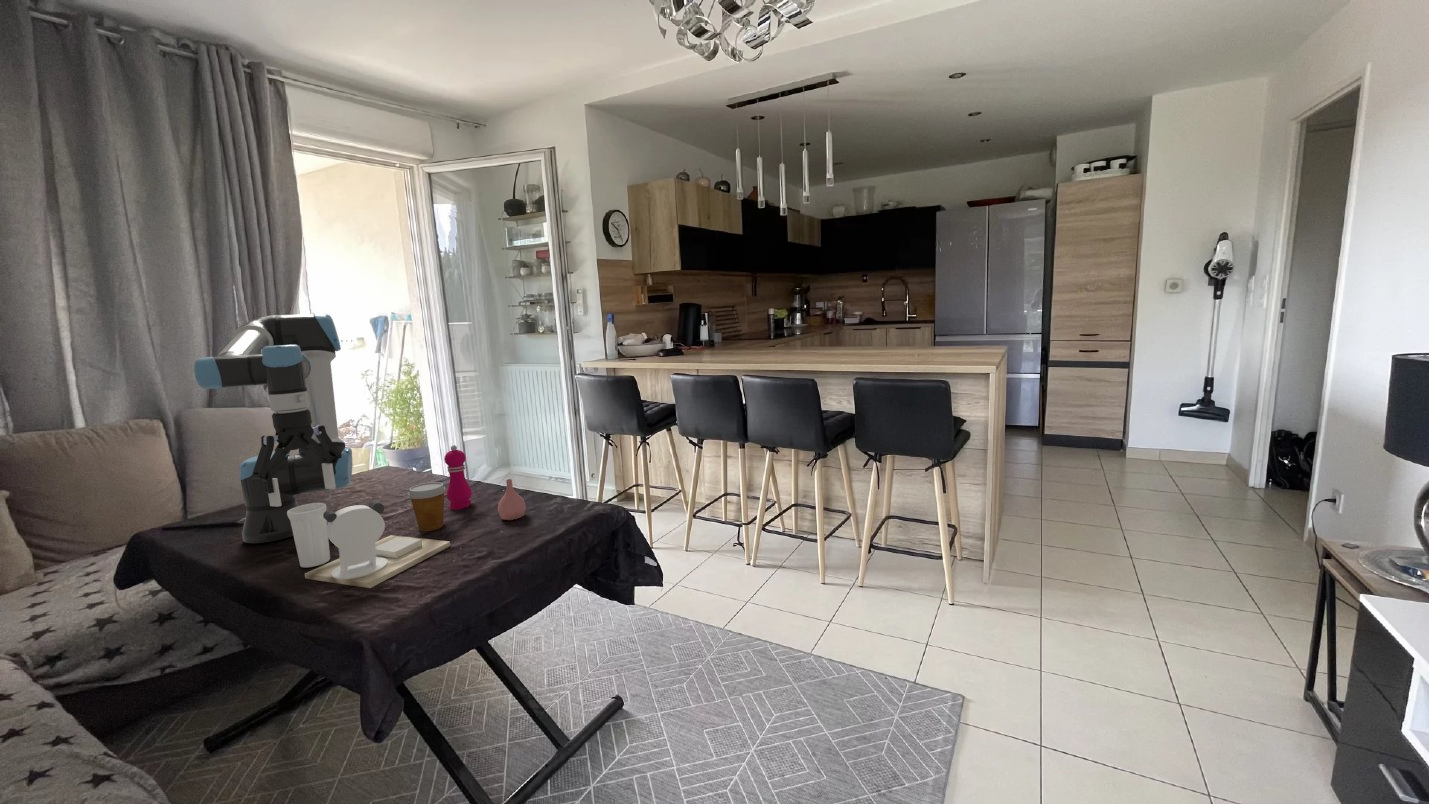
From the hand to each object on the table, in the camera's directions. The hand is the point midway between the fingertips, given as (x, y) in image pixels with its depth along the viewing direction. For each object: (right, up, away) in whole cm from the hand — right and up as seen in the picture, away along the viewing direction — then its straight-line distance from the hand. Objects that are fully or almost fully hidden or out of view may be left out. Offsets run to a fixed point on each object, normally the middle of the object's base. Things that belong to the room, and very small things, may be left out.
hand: (304, 497), depth 143 cm
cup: (+1, -17, +3) cm, 17 cm away
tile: (+16, -13, +7) cm, 22 cm away
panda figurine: (+16, -16, -4) cm, 23 cm away
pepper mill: (+20, -10, +41) cm, 47 cm away
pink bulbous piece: (+41, -11, +28) cm, 51 cm away
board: (+17, -16, +2) cm, 24 cm away
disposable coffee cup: (+19, -13, +25) cm, 34 cm away
